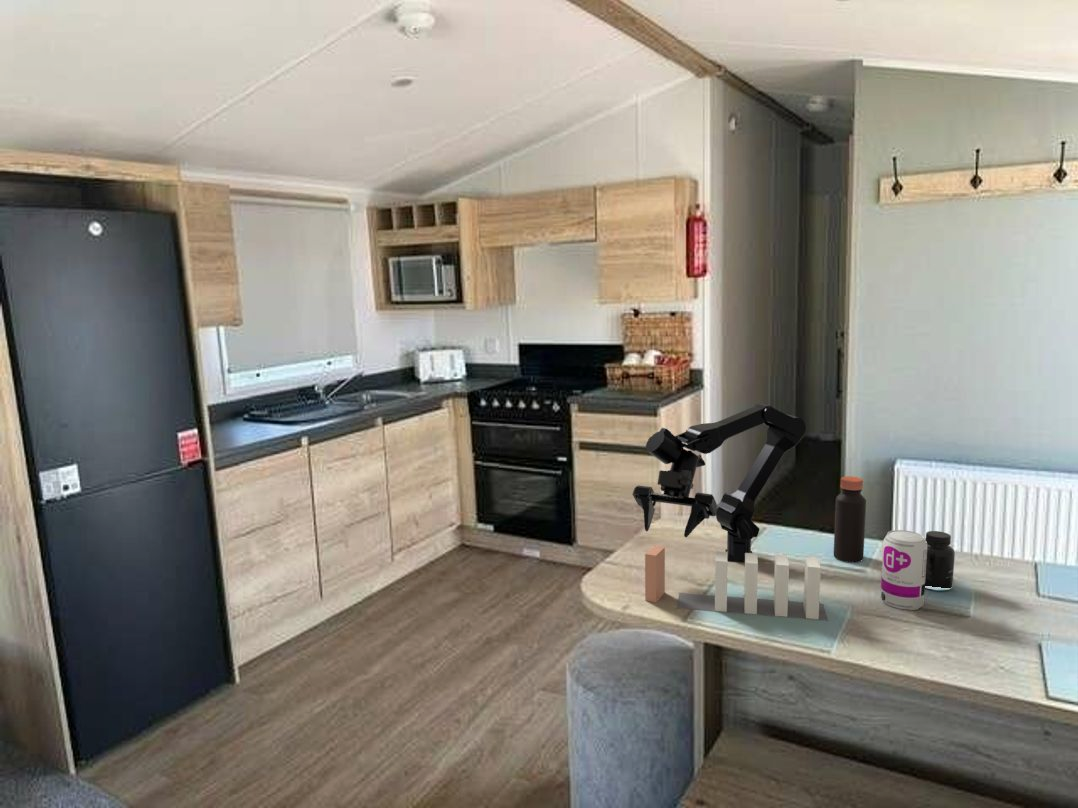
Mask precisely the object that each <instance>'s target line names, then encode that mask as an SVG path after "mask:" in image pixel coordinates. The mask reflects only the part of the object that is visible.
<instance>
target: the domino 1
mask: <svg viewBox="0 0 1078 808" xmlns="http://www.w3.org/2000/svg"><path fill="white" fill-rule="evenodd" d="M727 557H728V552H725V551H722V550H721V551H720V550H716V551H715V560H714V561H715V563H714V566H715V569H714V571H715V572H714V579H715V580H714V595H715V611H722V612H721V613H726V612H727V596H728V560H727Z"/></svg>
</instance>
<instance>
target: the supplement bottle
mask: <svg viewBox="0 0 1078 808" xmlns="http://www.w3.org/2000/svg"><path fill="white" fill-rule="evenodd" d="M925 533H926V534H925V537H924V539H925V541H926V543H927V560H926V576H925V586H932V587H941V588H951V587H952V588H953V582H954V571H955V570H954V569H955V560H956V559H955V557H956V553H955V550H954V548H953V547H952V546H950V545H951V538H952V536H951V534H950V533H947V532H944V531H938V530H929V531H927V532H925ZM952 588H951V589H952Z"/></svg>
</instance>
